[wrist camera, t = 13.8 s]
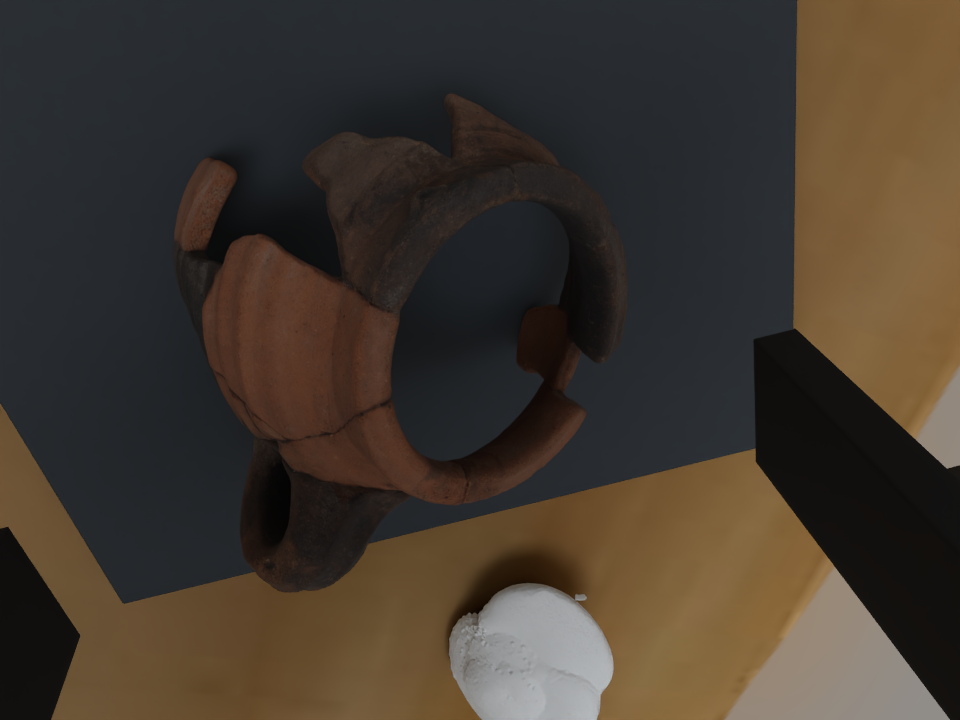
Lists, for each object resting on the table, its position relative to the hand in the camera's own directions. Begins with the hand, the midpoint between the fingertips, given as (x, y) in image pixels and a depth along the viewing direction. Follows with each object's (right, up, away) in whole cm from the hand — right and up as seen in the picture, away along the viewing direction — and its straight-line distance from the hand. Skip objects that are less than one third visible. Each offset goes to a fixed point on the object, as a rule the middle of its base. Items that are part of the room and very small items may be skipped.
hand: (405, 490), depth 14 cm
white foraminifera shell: (+3, -7, +15) cm, 17 cm away
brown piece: (-2, +4, +7) cm, 9 cm away
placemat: (-1, +4, +8) cm, 9 cm away
